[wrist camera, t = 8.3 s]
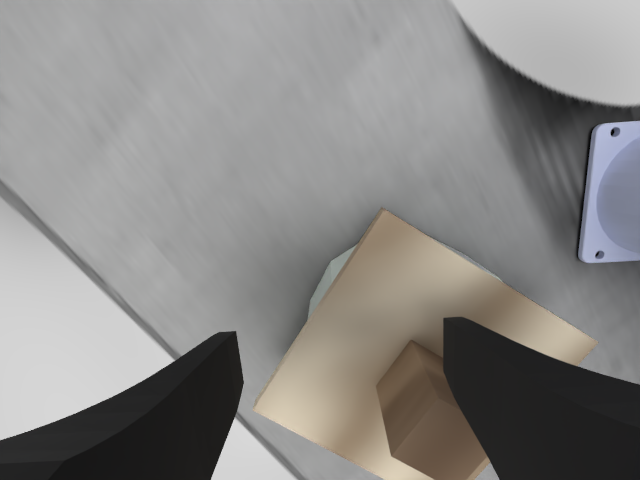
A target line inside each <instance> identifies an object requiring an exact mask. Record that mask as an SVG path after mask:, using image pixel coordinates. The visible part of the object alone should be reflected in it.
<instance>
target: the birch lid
mask: <svg viewBox="0 0 640 480" xmlns="http://www.w3.org/2000/svg"><path fill="white" fill-rule="evenodd" d="M447 317H464V318H467V319H469V320H471V321H474V322H476V323H478V324H480V325H482V326H484V327H486V328H488V329H490V330H492V331H494V332H496V333H499V334H501V335H503V336H505V337H507V338H509V339H511V340H513V341H515V342H517V343H520V344H522V345H524V346H526V347H529V348H531V349H533V350H536V351H538V352H540V353H543V354H545V355H548V356H550V357H553V358H555V359H558V360H561V361H563V362H566V363H569V364H572V365H575V366H578V365H579V364H580V362H581V361H582V360H583V359H584V358H585V357H586V356H587V355H588V354H589V352H590V351H591V350H592V349H593V348H594V347H595V346H596V345H597V344H598V343H599V342H597V341H596V340H594V339H593V338H591V337H590V336H588V335H587V334H585V333H584V332H582V331H580V330H579V329H577V328H575V327H574V326H572V325H571V324H569V323H567V322H566V321H564V320H563V319H561V318H559V317H558V316H556V315H555V314H553V313H551V312H550V311H548V310H547V309H545V308H543V307H542V306H540V305H538V304H537V303H535V302H534V301H532V300H530V299H529V298H527V297H526V296H524V295H522V294H521V293H519V292H518V291H516V290H514V289H513V288H511V287H510V286H508V285H506V284H505V283H503V282H501V281H500V280H498V279H497V278H495V277H493V276H492V275H490V274H489V273H487V272H485V271H484V270H482V269H481V268H479V267H477V266H476V265H474V264H473V263H471V262H469V261H468V260H466V259H464V258H463V257H461V256H460V255H458V254H456V253H455V252H453V251H452V250H450V249H448V248H447V247H445V246H444V245H442V244H440V243H439V242H437V241H436V240H434V239H432V238H431V237H429V236H427V235H426V234H424V233H423V232H421V231H419V230H418V229H416V228H415V227H413V226H411V225H410V224H408V223H407V222H405V221H403V220H402V219H400V218H399V217H397V216H395V215H394V214H392V213H390V212H389V211H387V210H386V209H384V208H381V209H380V211H379V212H378V214H377V215H376V217H375V218H374V220H373V221H372V223H371V224H370V226H369V227H368V229H367V230H366V232H365V233H364V235H363V237H362V238H361V240H360V241H359V243H358V244H357V246H356V247H355V249H354V250H353V252H352V253H351V255H350V256H349V258H348V259H347V261H346V262H345V264H344V266H343V267H342V269H341V270H340V272H339V273H338V275H337V276H336V278H335V279H334V281H333V282H332V284H331V285H330V287H329V288H328V290H327V291H326V293H325V294H324V296H323V298H322V299H321V301H320V302H319V304H318V305H317V307H316V308H315V310H314V311H313V313H312V314H311V316H310V317H309V319H308V320H307V322H306V323H305V325H304V326H303V328H302V330H301V331H300V333H299V334H298V336H297V337H296V339H295V340H294V342H293V343H292V345H291V346H290V348H289V349H288V351H287V352H286V354H285V355H284V357H283V359H282V360H281V362H280V363H279V365H278V366H277V368H276V369H275V371H274V372H273V374H272V375H271V377H270V378H269V380H268V381H267V383H266V384H265V386H264V387H263V389H262V391H261V392H260V394H259V395H258V397H257V398H256V400H255V404H254V407H253V411H255V412H257V413H259V414H261V415H263V416H265V417H267V418H268V419H270V420H272V421H274V422H276V423H278V424H280V425H282V426H284V427H286V428H288V429H289V430H291V431H293V432H295V433H297V434H299V435H301V436H303V437H305V438H307V439H309V440H310V441H312V442H314V443H316V444H318V445H320V446H322V447H324V448H326V449H328V450H330V451H331V452H333V453H335V454H337V455H339V456H341V457H343V458H345V459H347V460H349V461H351V462H352V463H354V464H356V465H358V466H360V467H362V468H364V469H366V470H368V471H370V472H372V473H373V474H375V475H377V476H379V477H381V478H383V479H385V480H474V479H475V478H476V477H477V476H478V475H479V474H480V473H481V472H482V471H483V469H484V468H485V467H486V466H487V465H488V464H489V463H490V460H489V458H488V457H487V455H486V453H485V451H484V450H483V448H482V446H481V444H480V443H479V441H478V439H477V437H476V436H475V434H474V432H473V430H472V429H471V427H470V425H469V423H468V422H467V420H466V418H465V416H464V415H463V413H462V411H461V409H460V408H459V406H458V404H457V402H456V400H455V398H454V396H453V394H452V392H451V389H450V387H449V384H448V382H447V379H446V377H445V374H444V372H443V318H447Z"/></svg>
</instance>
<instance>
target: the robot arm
mask: <svg viewBox="0 0 640 480" xmlns="http://www.w3.org/2000/svg"><path fill="white" fill-rule="evenodd" d="M612 129H614V135H613V136H611V133H610V132H611V130H612ZM598 251H599V254H598V256H597V257H595V254H596V253H597V252H598ZM578 257H579V259H580V260H581V261H583V262H586V263H602V262H620V261H637V260H640V121H631V122H617V123H605V124H600V125H598V126H596V127H595V128H594V129H593V131H592V136H591V145H590V154H589V163H588V171H587V180H586V189H585V198H584V207H583V216H582V225H581V234H580V243H579V252H578ZM443 372H444V374H445V377H446V379H447V382H448V384H449V387H450V389H451V392H452V394H453V396H454V398H455V400H456V402H457V404H458V406H459V408H460V409H461V411H462V413H463V415H464V416H465V418H466V420H467V422H468V423H469V425H470V427H471V429H472V430H473V432H474V434H475V436H476V437H477V439H478V441H479V443H480V444H481V446H482V448H483V450H484V451H485V453H486V455H487V457H488V458H489V460H490V462H491V464H492V466H493V468H494V470H495V471H496V473H497V475H498V477H499V479H500V480H640V385H639V384H635V383H631V382H627V381H624V380H620V379H617V378H613V377H610V376H606V375H602V374H599V373H596V372H593V371H590V370H586V369H583V368H581V367H578V366H575V365H572V364H569V363H566V362H563V361H561V360H558V359H555V358H553V357H550V356H548V355H545V354H543V353H540V352H538V351H536V350H533V349H531V348H529V347H526V346H524V345H522V344H520V343H517V342H515V341H513V340H511V339H509V338H507V337H505V336H503V335H501V334H499V333H496V332H494V331H492V330H490V329H488V328H486V327H484V326H482V325H480V324H478V323H476V322H474V321H471V320H469V319H467V318H464V317H447V318H443ZM243 384H244V381H243V374H242V368H241V361H240V354H239V348H238V341H237V335H236V331H232V332H219V333H217V334H215V335H213V336H211V337H210V338H208V339H207V340H205V341H204V342H202V343H201V344H199V345H198V346H196V347H195V348H193V349H192V350H191V351H189V352H188V353H186V354H185V355H183V356H182V357H180V358H179V359H177V360H176V361H174V362H173V363H171V364H169V365H168V366H166V367H165V368H163V369H161V370H160V371H158V372H157V373H155V374H154V375H152V376H150V377H149V378H147V379H145V380H143V381H142V382H140V383H138V384H136V385H135V386H133V387H131V388H129V389H127V390H125V391H123V392H121V393H119V394H117V395H115V396H113V397H112V398H109V399H107V400H105V401H102V402H100V403H98V404H96V405H94V406H91V407H89V408H87V409H85V410H82V411H80V412H78V413H76V414H73V415H71V416H68V417H66V418H63V419H60V420H58V421H56V422H53V423H50V424H48V425H45V426H42V427H39V428H36V429H34V430H31V431H28V432H25V433H22V434H19V435H16V436H13V437H10V438H6V439H3V440H0V480H211V477H212V474H213V472H214V469H215V467H216V464H217V462H218V459H219V456H220V454H221V451H222V449H223V446H224V443H225V441H226V438H227V436H228V433H229V431H230V428H231V425H232V423H233V420H234V417H235V415H236V412H237V409H238V405H239V401H240V397H241V393H242V388H243Z"/></svg>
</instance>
